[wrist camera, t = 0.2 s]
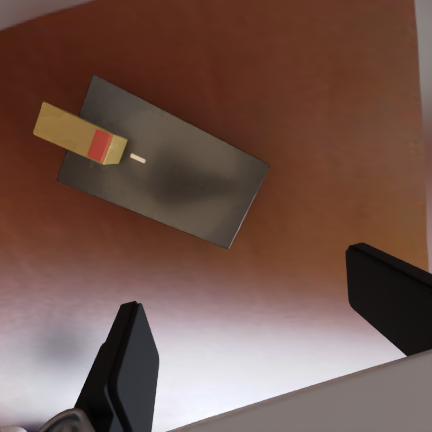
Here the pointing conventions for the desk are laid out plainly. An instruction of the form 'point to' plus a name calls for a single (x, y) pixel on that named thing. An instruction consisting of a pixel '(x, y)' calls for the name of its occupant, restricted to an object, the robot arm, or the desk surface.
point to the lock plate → (165, 167)
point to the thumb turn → (79, 135)
